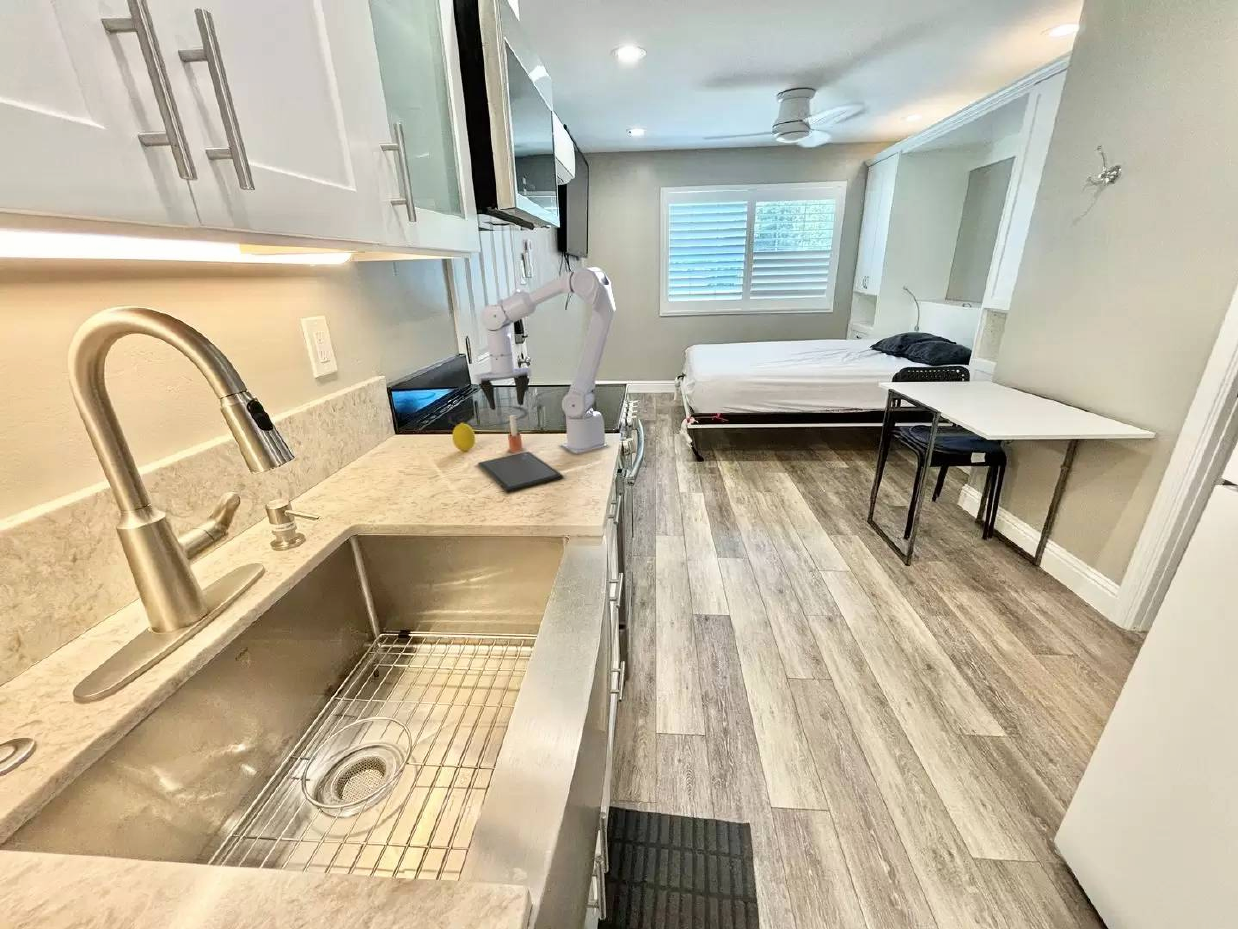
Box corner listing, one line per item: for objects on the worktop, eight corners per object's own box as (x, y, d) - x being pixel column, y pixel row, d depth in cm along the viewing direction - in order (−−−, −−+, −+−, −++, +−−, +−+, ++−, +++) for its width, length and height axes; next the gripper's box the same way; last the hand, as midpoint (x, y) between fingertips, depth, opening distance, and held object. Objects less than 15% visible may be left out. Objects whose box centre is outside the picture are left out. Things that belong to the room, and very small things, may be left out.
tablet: (528, 454, 125) (528, 450, 124) (562, 478, 110) (562, 474, 109) (478, 466, 118) (478, 462, 118) (507, 493, 103) (507, 489, 103)
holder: (519, 447, 130) (517, 431, 128) (524, 451, 127) (522, 434, 125) (508, 450, 128) (506, 434, 126) (512, 453, 125) (510, 437, 124)
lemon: (470, 456, 124) (466, 426, 121) (451, 455, 125) (446, 425, 122) (480, 449, 129) (476, 420, 126) (461, 448, 130) (457, 419, 127)
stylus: (517, 447, 128) (513, 414, 125) (519, 449, 127) (515, 415, 124) (512, 448, 128) (508, 415, 124) (514, 450, 126) (510, 416, 123)
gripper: (521, 349, 130) (526, 399, 136) (467, 355, 123) (475, 408, 128) (532, 352, 125) (537, 404, 130) (476, 359, 118) (483, 413, 123)
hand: (507, 406), depth 129 cm, fingers open, 7 cm apart
